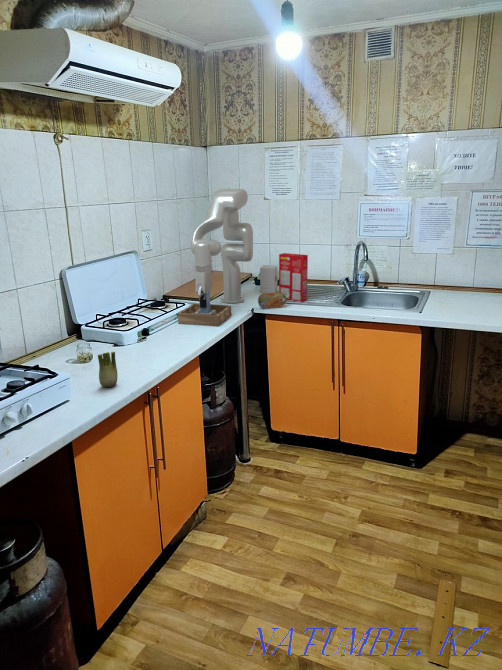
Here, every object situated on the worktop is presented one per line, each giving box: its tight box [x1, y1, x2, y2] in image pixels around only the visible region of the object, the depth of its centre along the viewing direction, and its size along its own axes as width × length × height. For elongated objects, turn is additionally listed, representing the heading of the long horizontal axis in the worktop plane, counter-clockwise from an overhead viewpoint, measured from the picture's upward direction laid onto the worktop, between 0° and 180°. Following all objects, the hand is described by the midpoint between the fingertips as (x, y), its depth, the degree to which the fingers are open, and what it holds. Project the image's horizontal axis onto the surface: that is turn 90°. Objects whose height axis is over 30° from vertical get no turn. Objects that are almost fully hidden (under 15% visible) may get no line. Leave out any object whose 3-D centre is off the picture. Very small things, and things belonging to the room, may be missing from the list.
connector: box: [198, 290, 211, 313], centre depth 249 cm, size 4×4×12 cm
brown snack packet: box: [257, 291, 287, 310], centre depth 270 cm, size 15×3×8 cm, turn 105°
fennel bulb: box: [97, 351, 118, 388], centre depth 172 cm, size 6×5×12 cm
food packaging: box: [278, 252, 309, 303], centre depth 284 cm, size 15×5×25 cm, turn 56°
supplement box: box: [259, 264, 278, 294], centre depth 305 cm, size 9×9×15 cm
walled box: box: [177, 303, 232, 327], centre depth 251 cm, size 20×20×5 cm
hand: (205, 305), depth 249 cm, fingers closed on connector, 4 cm apart
